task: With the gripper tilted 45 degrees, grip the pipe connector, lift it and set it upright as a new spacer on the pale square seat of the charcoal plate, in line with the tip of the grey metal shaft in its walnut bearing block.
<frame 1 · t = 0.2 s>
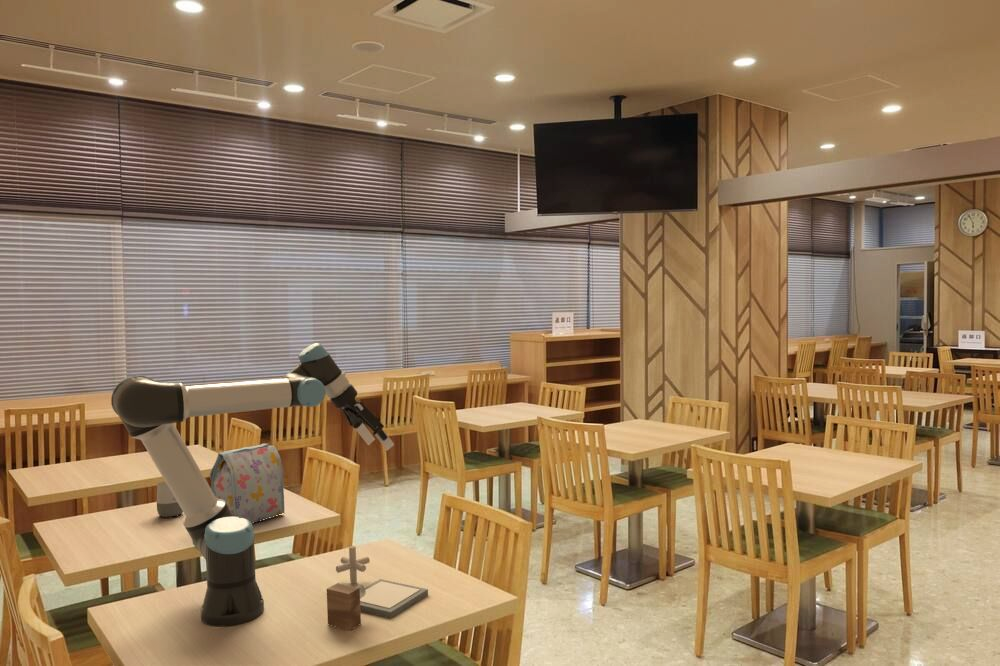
hand: (380, 444, 226), 35 cm above the table, tool tilted 35°, fingers open, 13 cm apart
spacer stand: (385, 600, 198), on the table
pipe connector: (353, 582, 212), on the table
smart speaker: (171, 515, 281), on the table
lunch bag: (248, 520, 273), on the table
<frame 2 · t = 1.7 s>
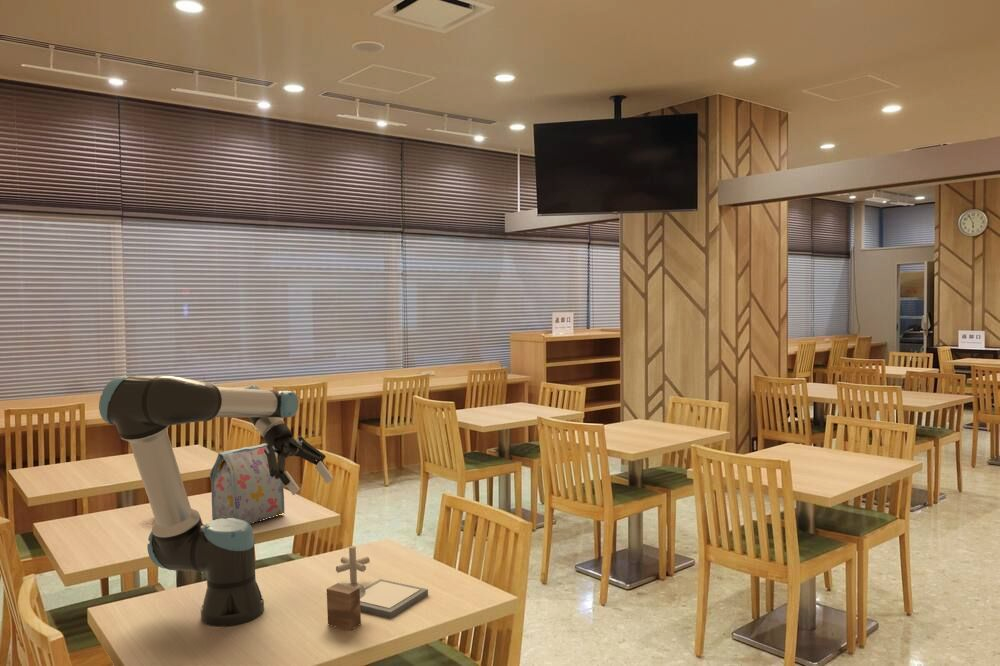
hand: (313, 486, 217), 26 cm above the table, tool tilted 45°, fingers open, 13 cm apart
nothing on the table moved.
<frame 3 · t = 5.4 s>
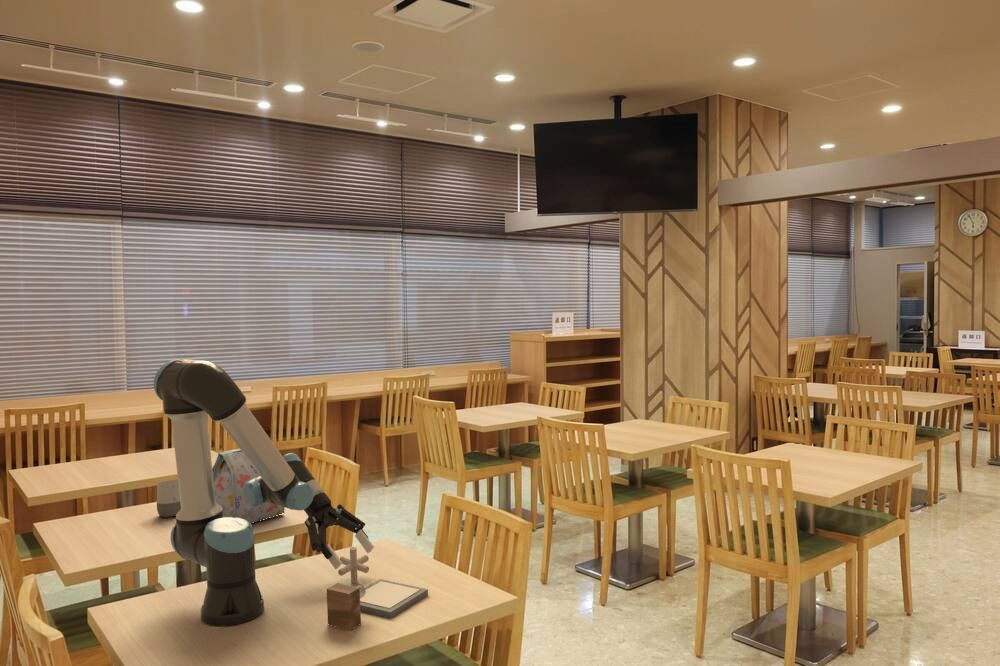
hand: (355, 558, 212), 6 cm above the table, tool tilted 45°, fingers open, 13 cm apart
pipe connector: (354, 582, 212), on the table, touching gripper
everything else where it was.
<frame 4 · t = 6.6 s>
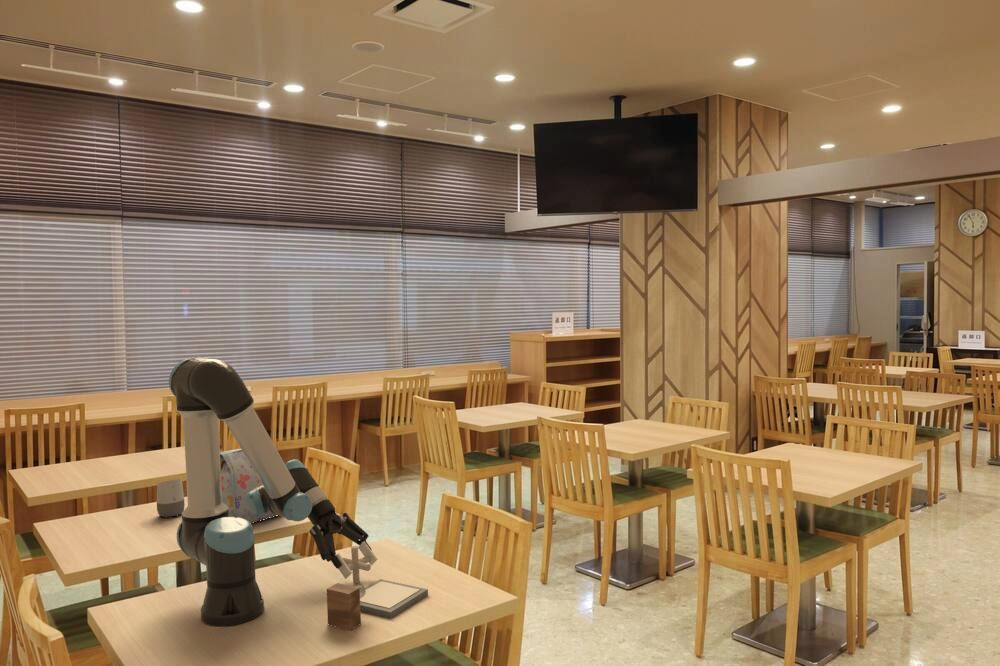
hand: (362, 568, 210), 4 cm above the table, tool tilted 45°, fingers closed on pipe connector, 10 cm apart
pipe connector: (356, 582, 211), on the table, touching gripper
everything else where it was.
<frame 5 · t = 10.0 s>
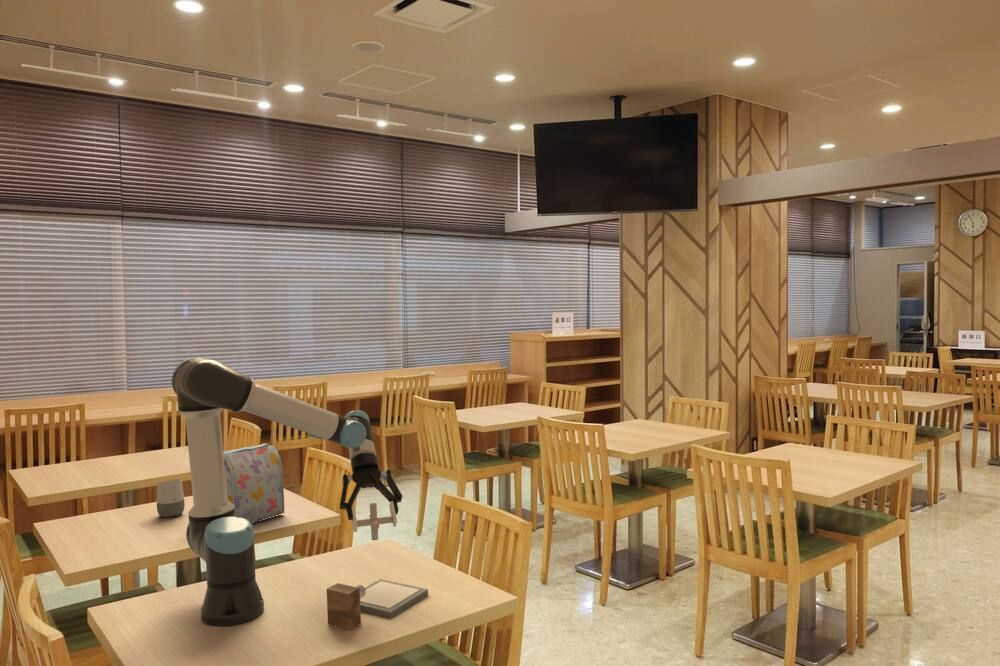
hand: (375, 526, 207), 17 cm above the table, tool tilted 45°, fingers closed on pipe connector, 10 cm apart
pipe connector: (374, 540, 209), point 12 cm above the table, touching gripper
everything else where it was.
when the fingers open (7 cm above the table, at t = 13.6 s): pipe connector stays where it is, resting on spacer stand.
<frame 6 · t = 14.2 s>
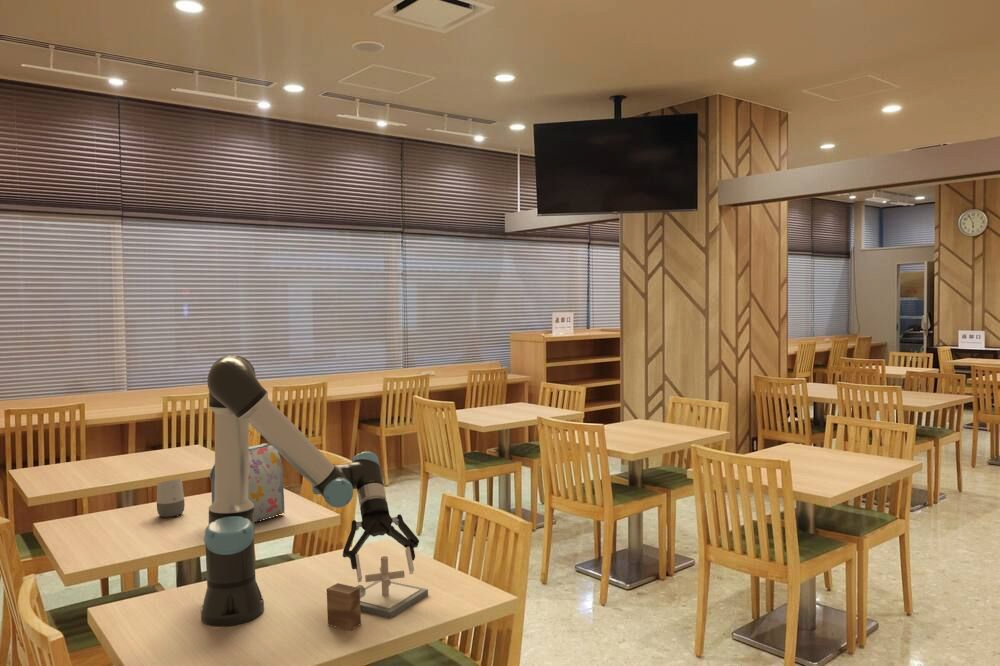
hand: (386, 575, 196), 7 cm above the table, tool tilted 45°, fingers open, 13 cm apart
pipe connector: (385, 595, 198), point 2 cm above the table, touching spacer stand
everything else where it was.
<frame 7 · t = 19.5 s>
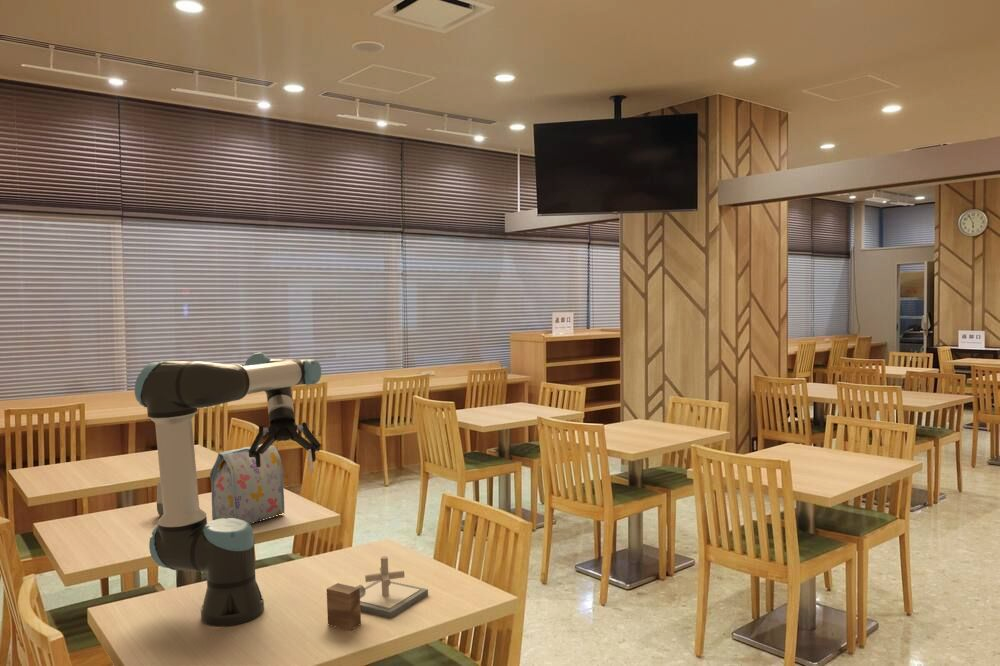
hand: (287, 473, 217), 30 cm above the table, tool tilted 45°, fingers open, 13 cm apart
nothing on the table moved.
at the end: pipe connector inside the target area on the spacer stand (0.6 cm from its centre), point 1.5 cm above the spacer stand's base; pipe connector tilted 0°; the gripper is holding nothing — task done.
